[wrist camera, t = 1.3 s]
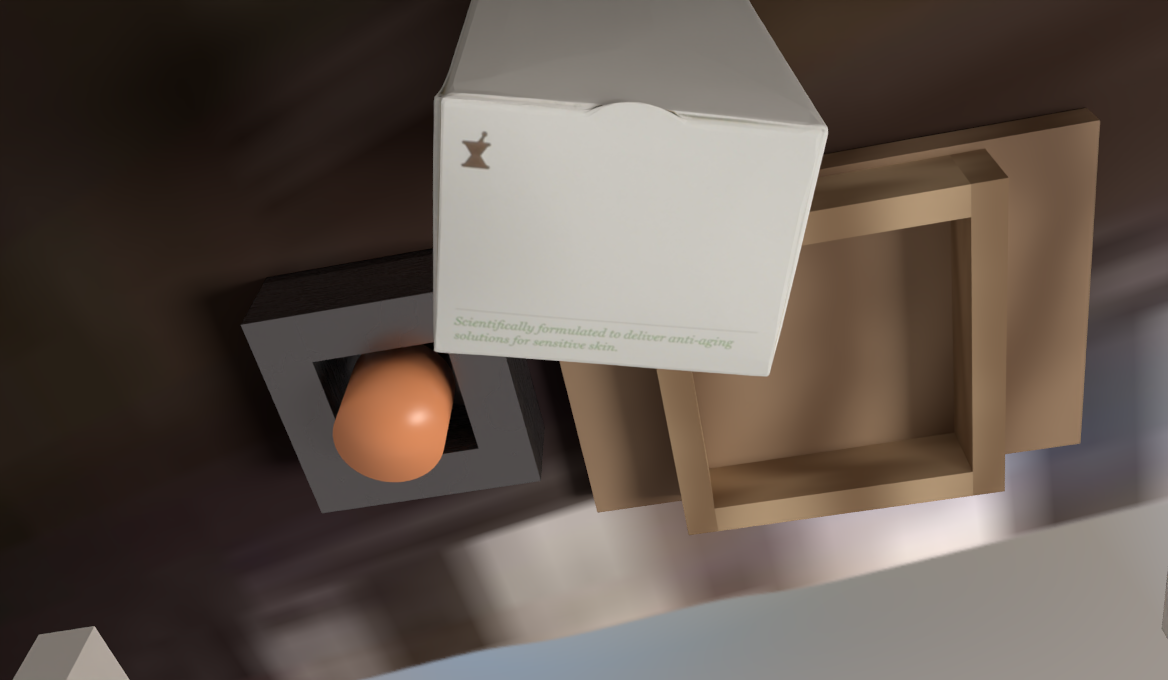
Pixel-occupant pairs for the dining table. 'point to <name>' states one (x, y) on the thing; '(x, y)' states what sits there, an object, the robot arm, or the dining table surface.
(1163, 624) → the robot arm
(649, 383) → the wooden tray
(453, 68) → the skincare box
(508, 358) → the button housing
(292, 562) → the dining table surface
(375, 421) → the button
